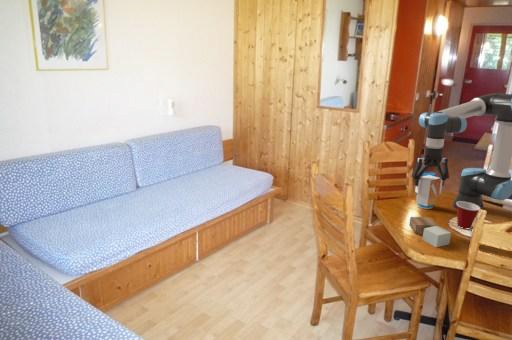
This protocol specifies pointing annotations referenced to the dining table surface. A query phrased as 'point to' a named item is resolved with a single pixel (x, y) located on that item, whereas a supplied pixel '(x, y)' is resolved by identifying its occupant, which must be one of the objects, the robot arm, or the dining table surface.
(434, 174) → the beverage bottle
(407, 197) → the dining table surface
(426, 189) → the small box
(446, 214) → the dining table surface
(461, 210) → the plastic cup
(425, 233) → the grey block
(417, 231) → the walnut block
